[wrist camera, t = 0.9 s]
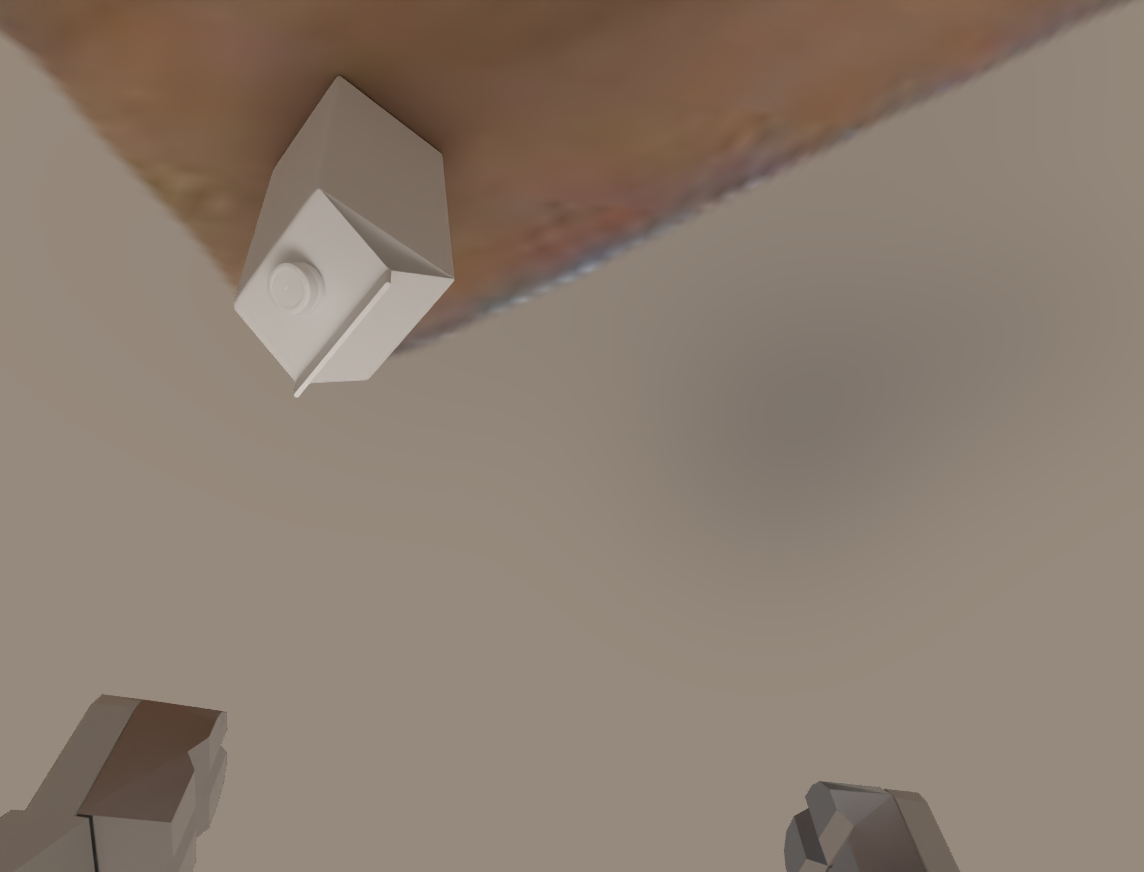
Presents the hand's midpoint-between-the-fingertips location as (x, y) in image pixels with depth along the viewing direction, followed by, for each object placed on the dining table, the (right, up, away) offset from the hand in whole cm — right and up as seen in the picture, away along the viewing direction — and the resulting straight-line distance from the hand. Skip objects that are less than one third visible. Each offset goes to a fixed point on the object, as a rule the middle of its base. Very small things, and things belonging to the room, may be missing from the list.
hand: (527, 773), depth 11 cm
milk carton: (-12, +21, +36) cm, 44 cm away
